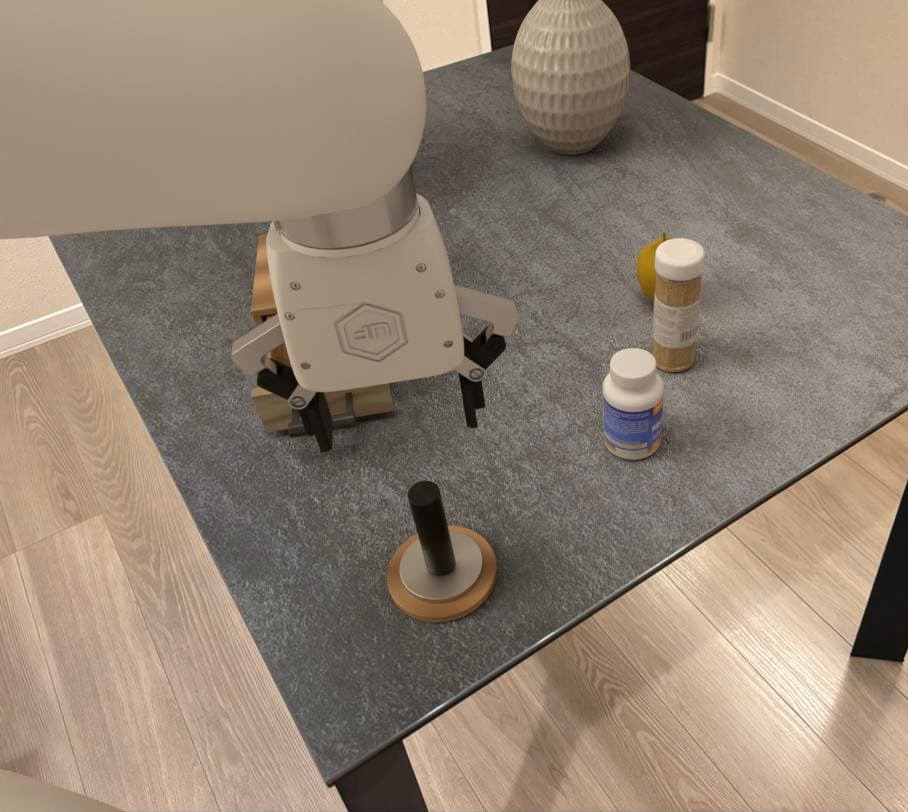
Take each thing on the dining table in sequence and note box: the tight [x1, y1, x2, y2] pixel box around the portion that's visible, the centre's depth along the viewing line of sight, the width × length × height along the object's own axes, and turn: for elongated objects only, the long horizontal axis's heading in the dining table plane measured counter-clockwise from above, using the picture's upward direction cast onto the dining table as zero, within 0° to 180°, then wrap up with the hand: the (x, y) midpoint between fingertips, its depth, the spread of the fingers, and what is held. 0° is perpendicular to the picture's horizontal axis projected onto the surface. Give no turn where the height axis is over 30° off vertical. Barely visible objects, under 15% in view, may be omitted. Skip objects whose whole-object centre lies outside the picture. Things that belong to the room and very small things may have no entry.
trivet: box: [386, 524, 498, 624], centre depth 68 cm, size 9×9×1 cm
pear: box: [636, 231, 674, 302], centre depth 90 cm, size 6×6×8 cm
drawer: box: [251, 313, 395, 439], centre depth 82 cm, size 18×12×5 cm
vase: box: [510, 0, 631, 156], centre depth 112 cm, size 16×16×22 cm
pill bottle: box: [602, 347, 665, 461], centre depth 74 cm, size 5×5×10 cm
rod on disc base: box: [400, 480, 483, 603], centre depth 64 cm, size 7×7×10 cm
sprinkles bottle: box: [651, 237, 706, 373], centre depth 81 cm, size 5×5×14 cm
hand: (399, 425), depth 56 cm, fingers open, 9 cm apart
